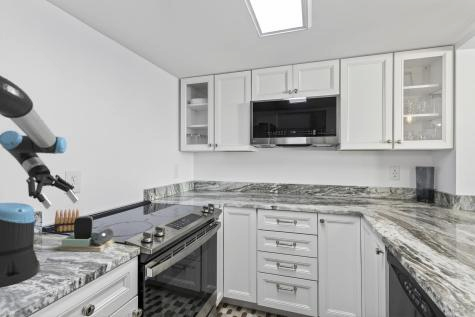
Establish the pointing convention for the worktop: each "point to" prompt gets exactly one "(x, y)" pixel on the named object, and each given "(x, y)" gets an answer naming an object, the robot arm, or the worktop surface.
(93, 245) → the mint green tray
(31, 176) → the robot arm
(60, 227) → the ammunition clip
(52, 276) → the worktop surface
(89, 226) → the battery charger
